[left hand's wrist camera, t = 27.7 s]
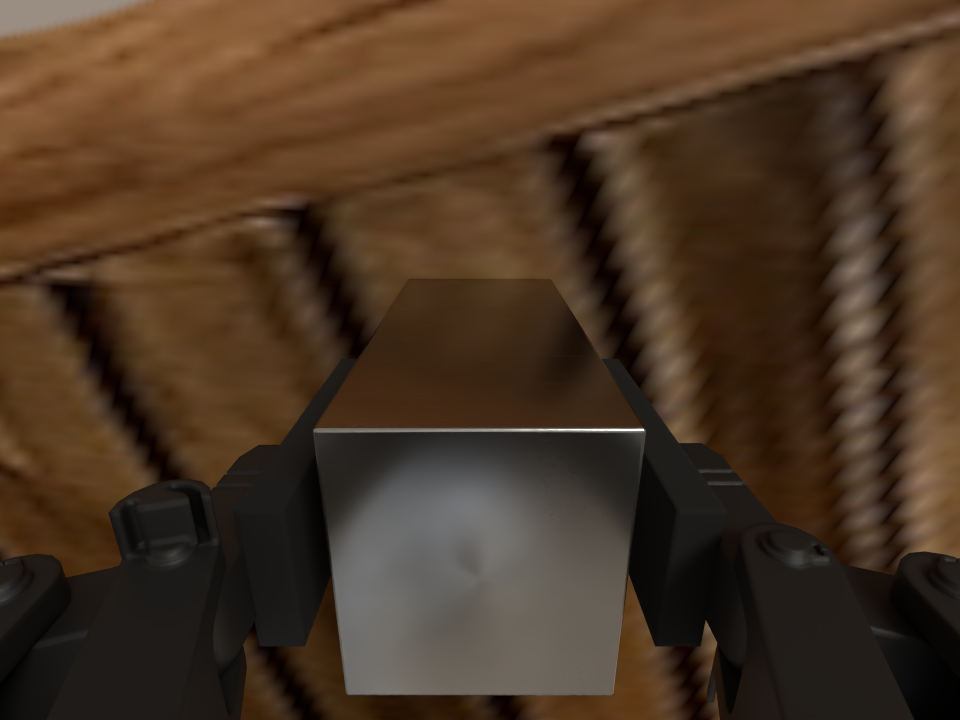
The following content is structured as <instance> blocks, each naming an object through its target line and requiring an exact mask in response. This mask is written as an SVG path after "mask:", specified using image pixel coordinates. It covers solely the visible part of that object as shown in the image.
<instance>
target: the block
mask: <svg viewBox="0 0 960 720" xmlns="http://www.w3.org/2000/svg"><path fill="white" fill-rule="evenodd" d="M313 435H314V443H315V451H316V459H317V467H318V475H319V483H320V491H321V499H322V507H323V515H324V523H325V531H326V539H327V547H328V555H329V563H330V571H331V579H332V587H333V595H334V603H335V611H336V619H337V627H338V635H339V643H340V651H341V659H342V667H343V675H344V683H345V691H346V694H347V695H612V694H613V693H614V686H615V678H616V670H617V662H618V654H619V646H620V637H621V629H622V621H623V613H624V605H625V597H626V589H627V581H628V573H629V565H630V557H631V549H632V541H633V533H634V525H635V517H636V509H637V501H638V493H639V485H640V477H641V469H642V461H643V453H644V444H645V436H646V429H645V427H644V425H643V423H642V422H641V420H640V419H639V417H638V416H637V414H636V412H635V411H634V409H633V408H632V406H631V405H630V403H629V401H628V400H627V398H626V397H625V395H624V394H623V392H622V390H621V389H620V387H619V386H618V384H617V383H616V381H615V379H614V378H613V376H612V375H611V373H610V372H609V370H608V368H607V367H606V365H605V364H604V362H603V361H602V359H601V357H600V356H599V354H598V353H597V351H596V350H595V348H594V346H593V345H592V343H591V342H590V340H589V339H588V337H587V335H586V334H585V332H584V331H583V329H582V327H581V326H580V324H579V323H578V321H577V320H576V318H575V316H574V315H573V313H572V312H571V310H570V309H569V307H568V305H567V304H566V302H565V301H564V299H563V298H562V296H561V294H560V293H559V291H558V290H557V288H556V287H555V285H554V283H553V282H552V280H550V279H409V280H408V281H407V283H406V284H405V286H404V287H403V289H402V291H401V292H400V294H399V295H398V297H397V298H396V300H395V302H394V303H393V305H392V306H391V308H390V309H389V311H388V313H387V314H386V316H385V317H384V319H383V320H382V322H381V323H380V325H379V327H378V328H377V330H376V331H375V333H374V334H373V336H372V338H371V339H370V341H369V342H368V344H367V345H366V347H365V349H364V350H363V352H362V353H361V355H360V356H359V358H358V360H357V361H356V363H355V364H354V366H353V367H352V369H351V371H350V372H349V374H348V375H347V377H346V378H345V380H344V381H343V383H342V385H341V386H340V388H339V389H338V391H337V392H336V394H335V396H334V397H333V399H332V400H331V402H330V403H329V405H328V407H327V408H326V410H325V411H324V413H323V414H322V416H321V418H320V419H319V421H318V422H317V424H316V425H315V427H314V429H313Z"/></svg>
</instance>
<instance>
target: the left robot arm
mask: <svg viewBox="0 0 960 720" xmlns="http://www.w3.org/2000/svg"><path fill="white" fill-rule="evenodd" d="M357 360H358V359H342V360H341V361H340V362H339V364H338V365H337V367H336V368H335V369H334V371H333V372H332V374H331V375H330V376H329V378H328V379H327V381H326V382H325V383H324V385H323V386H322V387H321V389H320V390H319V392H318V393H317V394H316V396H315V397H314V399H313V400H312V401H311V403H310V404H309V406H308V407H307V408H306V410H305V411H304V412H303V414H302V415H301V417H300V418H299V419H298V421H297V422H296V424H295V425H294V426H293V428H292V429H291V431H290V432H289V433H288V435H287V436H286V437H285V439H284V440H283V442H282V443H281V444H280V445H258V446H256V447H255V448H253V449H252V450H250V451H249V452H247V453H245V454H244V455H242V456H241V457H239V458H238V459H237V460H236V462H235V463H234V464H233V465H232V467H231V468H230V469H229V470H228V471H227V475H224V476H223V477H222V479H221V480H220V481H219V482H218V483H217V487H214V488H213V489H212V491H210V488H209V487H208V486H207V485H206V484H204V483H203V482H201V481H196V480H191V479H181V480H169V481H165V482H161V483H157V484H152V485H150V486H147V487H145V488H143V489H140V490H138V491H135V492H133V493H132V494H130V495H128V496H127V497H125V498H124V499H122V500H121V501H119V502H118V503H117V504H116V505H115V506H114V507H113V508H112V509H111V511H110V512H109V516H110V520H111V523H112V526H113V530H114V533H115V537H116V540H117V543H118V547H119V550H120V553H121V557H122V561H121V563H120V565H119V566H117V567H113V568H110V569H105V570H100V571H95V572H91V573H86V574H81V575H77V576H72V577H67V578H66V577H65V574H64V571H63V568H62V566H61V563H60V561H59V560H57V559H56V558H55V557H53V556H52V555H42V554H33V555H26V556H19V557H14V558H10V559H7V560H6V561H0V720H240V717H241V709H242V701H243V693H244V685H245V677H246V669H247V665H246V658H245V652H244V647H243V644H244V642H245V640H246V638H247V636H248V634H249V632H250V630H251V628H252V626H253V624H254V622H255V625H256V630H257V635H258V641H259V646H305V644H306V641H307V639H308V636H309V633H310V630H311V628H312V625H313V622H314V619H315V617H316V614H317V611H318V609H319V606H320V603H321V600H322V598H323V595H324V592H325V589H326V587H327V584H328V581H329V578H330V576H331V571H330V563H329V555H328V547H327V539H326V531H325V523H324V515H323V507H322V499H321V491H320V483H319V475H318V467H317V459H316V451H315V443H314V435H313V429H314V427H315V425H316V424H317V422H318V421H319V419H320V418H321V416H322V414H323V413H324V411H325V410H326V408H327V407H328V405H329V403H330V402H331V400H332V399H333V397H334V396H335V394H336V392H337V391H338V389H339V388H340V386H341V385H342V383H343V381H344V380H345V378H346V377H347V375H348V374H349V372H350V371H351V369H352V367H353V366H354V364H355V363H356V361H357ZM602 361H603V362H604V364H605V365H606V367H607V368H608V370H609V372H610V373H611V375H612V376H613V378H614V379H615V381H616V383H617V384H618V386H619V387H620V389H621V390H622V392H623V394H624V395H625V397H626V398H627V400H628V401H629V403H630V405H631V406H632V408H633V409H634V411H635V412H636V414H637V416H638V417H639V419H640V420H641V422H642V423H643V425H644V427H645V429H646V436H645V444H644V453H643V461H642V469H641V477H640V485H639V493H638V501H637V509H636V517H635V525H634V533H633V541H632V549H631V557H630V565H629V576H630V578H631V581H632V584H633V587H634V589H635V592H636V595H637V598H638V600H639V603H640V606H641V609H642V611H643V614H644V617H645V619H646V622H647V625H648V628H649V630H650V633H651V636H652V639H653V641H654V644H655V646H701V641H702V636H703V630H704V625H705V620H706V621H707V623H708V625H709V627H710V629H711V631H712V633H713V635H714V637H715V639H716V641H717V647H716V652H715V657H714V662H713V666H712V671H711V676H710V680H709V685H708V691H707V698H706V700H707V701H710V702H714V698H715V693H716V692H717V700H718V708H719V716H720V720H960V559H959V558H958V559H957V558H955V557H952V556H948V555H944V554H937V553H931V552H915V553H909V554H907V555H906V556H904V557H903V558H902V559H901V560H900V563H899V566H898V568H897V571H896V574H895V575H890V574H885V573H881V572H876V571H871V570H866V569H862V568H857V567H852V566H848V565H844V564H841V563H840V562H839V560H838V558H837V557H836V556H835V554H834V553H833V552H832V551H831V549H830V548H829V547H828V546H827V545H825V544H824V543H823V542H821V541H820V540H819V539H817V538H816V537H815V536H813V535H811V534H808V533H806V532H804V531H802V530H800V529H798V528H795V527H791V526H788V525H784V524H780V523H777V522H776V520H775V519H774V518H773V517H772V516H771V515H770V513H769V512H768V511H767V510H766V509H765V507H764V506H763V505H762V504H761V503H760V501H759V500H758V499H757V498H756V497H755V495H754V494H753V493H752V492H751V491H750V489H749V488H748V487H747V486H746V485H744V482H743V481H742V480H741V479H740V477H739V476H738V475H737V474H736V473H734V472H733V469H732V468H731V467H730V465H729V464H728V463H727V462H726V461H725V460H724V458H723V457H722V456H721V455H719V454H718V453H716V452H715V451H713V450H711V449H710V448H708V447H707V446H705V445H703V444H702V443H678V442H677V440H676V439H675V437H674V436H673V435H672V433H671V432H670V430H669V429H668V428H667V426H666V425H665V424H664V422H663V421H662V419H661V418H660V417H659V415H658V414H657V412H656V411H655V410H654V408H653V407H652V405H651V404H650V403H649V401H648V400H647V399H646V397H645V396H644V394H643V393H642V392H641V390H640V389H639V387H638V386H637V385H636V383H635V382H634V380H633V379H632V378H631V376H630V375H629V374H628V372H627V371H626V369H625V368H624V367H623V365H622V364H621V362H620V361H619V360H618V359H602Z"/></svg>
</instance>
